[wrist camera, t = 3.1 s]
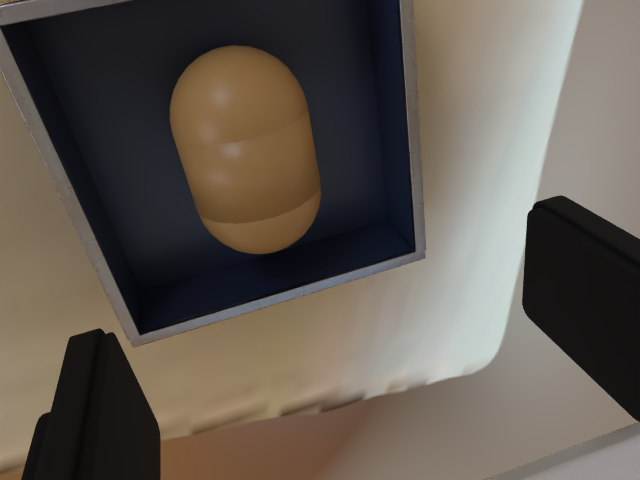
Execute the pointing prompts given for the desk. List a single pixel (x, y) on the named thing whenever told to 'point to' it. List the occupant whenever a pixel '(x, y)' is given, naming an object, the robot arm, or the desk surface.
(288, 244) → the potato
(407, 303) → the desk surface
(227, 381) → the desk surface
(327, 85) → the square open-top storage box
